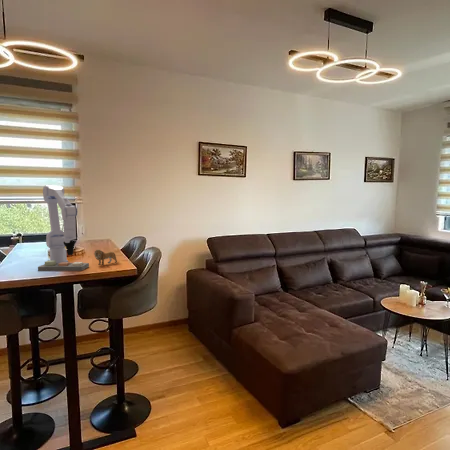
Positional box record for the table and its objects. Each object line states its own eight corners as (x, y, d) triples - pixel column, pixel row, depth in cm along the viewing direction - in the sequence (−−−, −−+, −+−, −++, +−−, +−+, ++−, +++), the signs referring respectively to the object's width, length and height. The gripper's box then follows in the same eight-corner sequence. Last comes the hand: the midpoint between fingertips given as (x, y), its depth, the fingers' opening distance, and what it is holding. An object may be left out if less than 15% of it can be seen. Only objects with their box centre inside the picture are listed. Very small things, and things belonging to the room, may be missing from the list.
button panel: (47, 266, 181) (47, 263, 181) (88, 266, 182) (88, 263, 182) (38, 270, 171) (37, 266, 171) (82, 270, 172) (82, 266, 172)
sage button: (48, 265, 178) (48, 260, 178) (56, 265, 178) (56, 260, 178) (44, 266, 174) (44, 261, 174) (52, 266, 174) (52, 261, 174)
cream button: (75, 266, 179) (75, 262, 179) (83, 266, 179) (83, 262, 179) (72, 268, 175) (72, 263, 175) (80, 268, 175) (80, 263, 175)
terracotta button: (62, 266, 178) (61, 262, 178) (69, 266, 179) (69, 262, 178) (58, 268, 174) (58, 263, 174) (66, 268, 175) (66, 263, 174)
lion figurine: (98, 266, 183) (97, 250, 182) (92, 265, 186) (91, 249, 185) (119, 262, 195) (119, 247, 194) (113, 261, 198) (113, 246, 197)
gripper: (64, 227, 181) (64, 252, 182) (58, 230, 167) (58, 257, 168) (78, 227, 183) (78, 252, 184) (73, 230, 169) (74, 257, 170)
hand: (70, 254), depth 176 cm, fingers closed
